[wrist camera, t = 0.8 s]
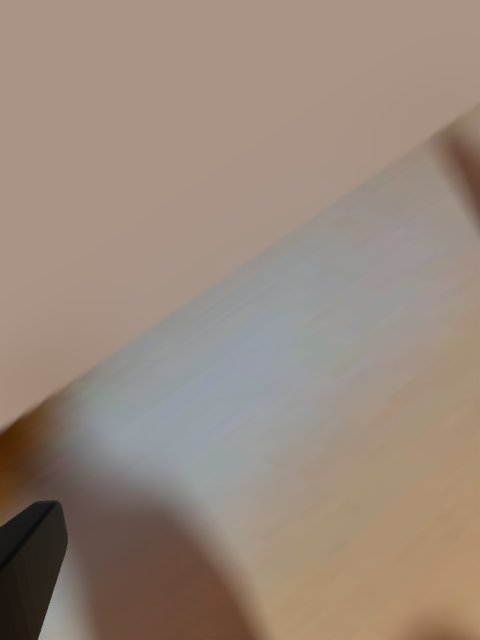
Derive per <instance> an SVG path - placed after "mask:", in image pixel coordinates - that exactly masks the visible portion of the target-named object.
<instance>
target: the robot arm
mask: <svg viewBox="0 0 480 640" xmlns="http://www.w3.org/2000/svg"><path fill="white" fill-rule="evenodd" d="M67 543H68V535H67V529H66V524H65V519H64V514H63V509H62V505H61V503H60V502H59V501H57V500H52V501H39V502H35V503H33V504H32V505H30V506H29V507H28V508H26V509H25V510H23V511H22V512H21V513H19V514H18V515H17V516H15V517H14V518H12V519H11V520H10V521H8V522H7V523H5V524H4V525H3V526H1V527H0V640H38V638H39V635H40V632H41V629H42V625H43V622H44V619H45V616H46V613H47V610H48V606H49V603H50V600H51V597H52V594H53V591H54V587H55V584H56V581H57V578H58V575H59V572H60V568H61V565H62V562H63V559H64V556H65V553H66V549H67Z"/></svg>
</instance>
